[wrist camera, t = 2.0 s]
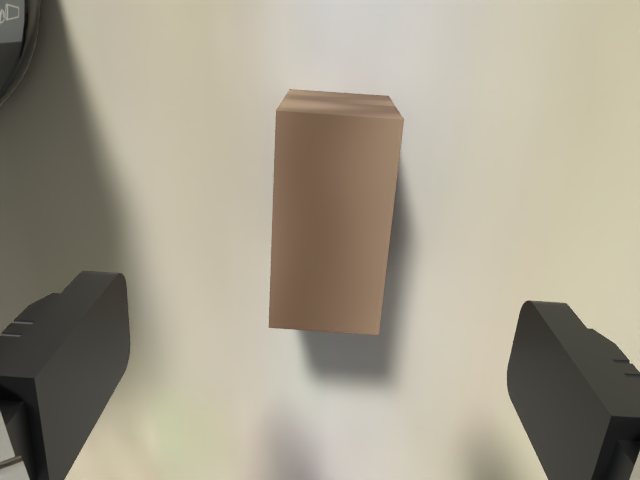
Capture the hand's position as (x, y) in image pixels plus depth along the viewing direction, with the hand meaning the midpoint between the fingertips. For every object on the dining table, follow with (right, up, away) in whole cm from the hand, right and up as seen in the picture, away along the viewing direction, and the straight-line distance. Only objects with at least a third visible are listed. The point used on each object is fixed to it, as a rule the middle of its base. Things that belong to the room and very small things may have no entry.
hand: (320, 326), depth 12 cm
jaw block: (0, +4, +10) cm, 11 cm away
